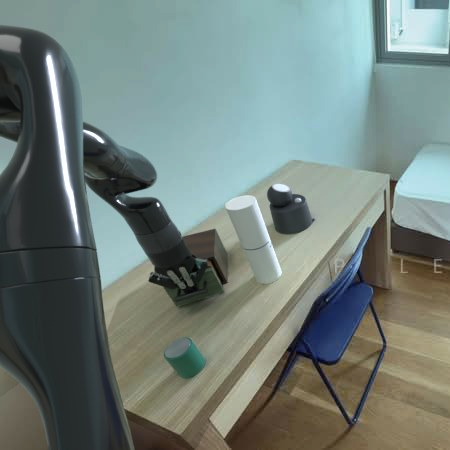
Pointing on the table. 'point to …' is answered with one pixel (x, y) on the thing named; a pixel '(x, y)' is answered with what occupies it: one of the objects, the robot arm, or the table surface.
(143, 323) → the table surface
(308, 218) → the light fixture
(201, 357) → the can
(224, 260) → the cabinet
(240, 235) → the cylindrical container
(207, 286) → the drawer
